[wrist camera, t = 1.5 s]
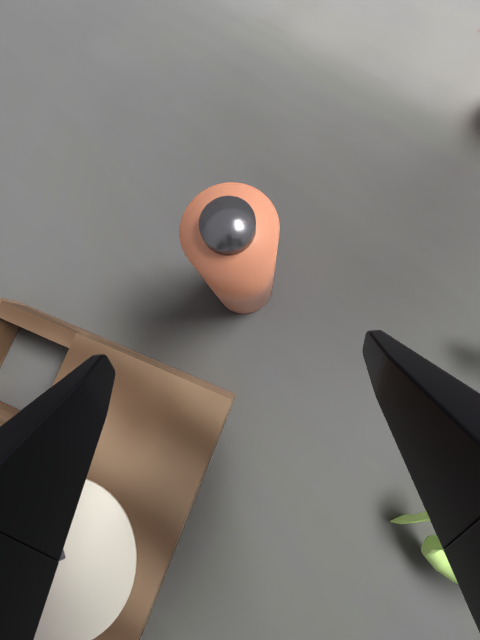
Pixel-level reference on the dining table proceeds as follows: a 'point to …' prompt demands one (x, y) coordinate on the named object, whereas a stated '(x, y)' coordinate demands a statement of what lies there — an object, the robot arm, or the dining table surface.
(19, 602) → the robot arm
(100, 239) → the dining table surface
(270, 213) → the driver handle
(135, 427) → the dial board
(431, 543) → the figurine
